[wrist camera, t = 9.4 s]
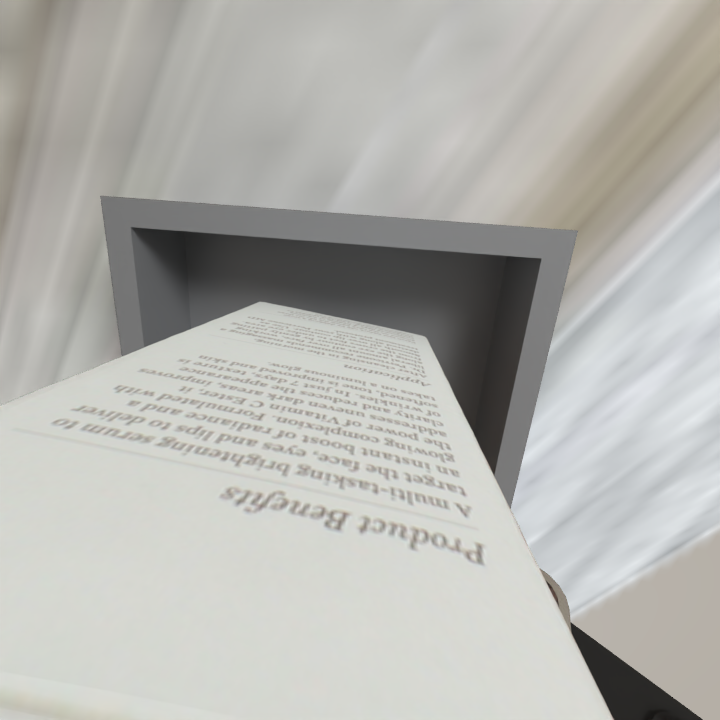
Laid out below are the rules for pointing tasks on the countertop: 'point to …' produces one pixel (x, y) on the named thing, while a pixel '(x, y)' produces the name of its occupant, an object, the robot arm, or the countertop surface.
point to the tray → (357, 291)
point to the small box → (269, 540)
